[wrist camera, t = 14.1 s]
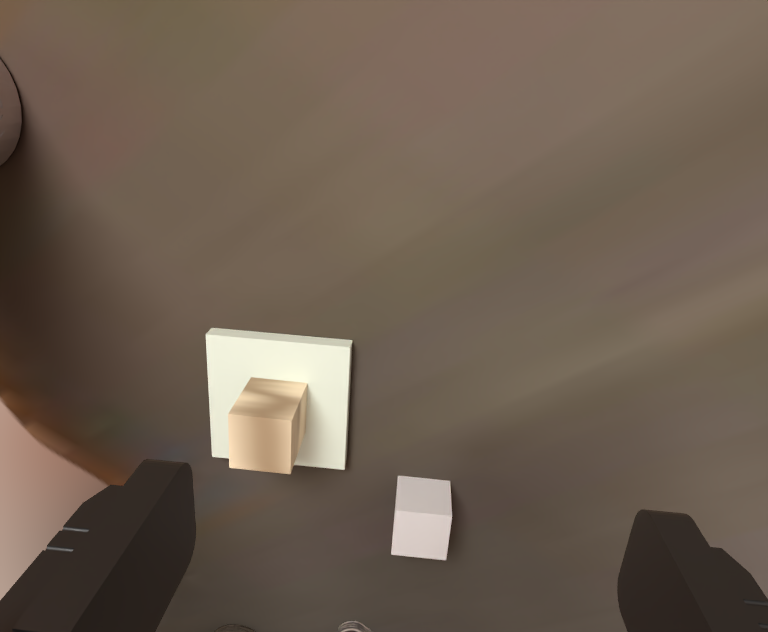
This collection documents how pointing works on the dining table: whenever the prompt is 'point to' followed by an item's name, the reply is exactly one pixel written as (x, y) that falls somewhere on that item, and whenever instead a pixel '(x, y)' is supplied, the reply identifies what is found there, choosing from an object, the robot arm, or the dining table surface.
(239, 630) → the metal tin
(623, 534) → the dining table surface
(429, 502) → the white block
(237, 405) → the beech block
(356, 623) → the lighter
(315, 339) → the plate
